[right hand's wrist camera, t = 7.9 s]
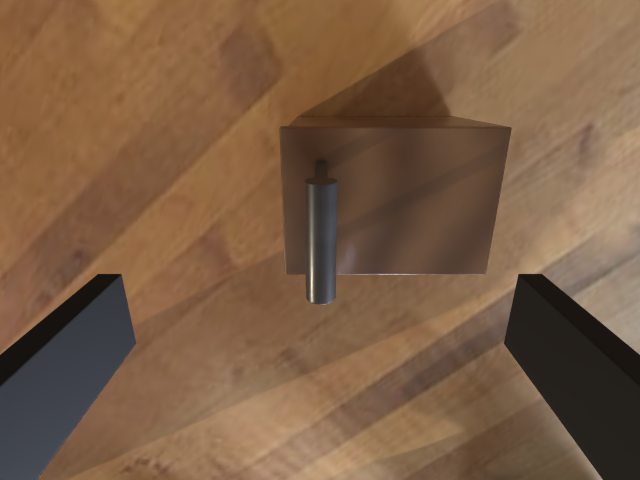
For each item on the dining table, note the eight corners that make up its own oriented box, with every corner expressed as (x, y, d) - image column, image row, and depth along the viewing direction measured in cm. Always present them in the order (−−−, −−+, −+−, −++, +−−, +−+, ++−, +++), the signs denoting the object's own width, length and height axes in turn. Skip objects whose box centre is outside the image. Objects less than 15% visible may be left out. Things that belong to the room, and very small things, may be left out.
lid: (286, 269, 27) (273, 335, 20) (280, 126, 23) (263, 142, 16) (481, 269, 27) (540, 335, 20) (505, 126, 23) (589, 142, 16)
